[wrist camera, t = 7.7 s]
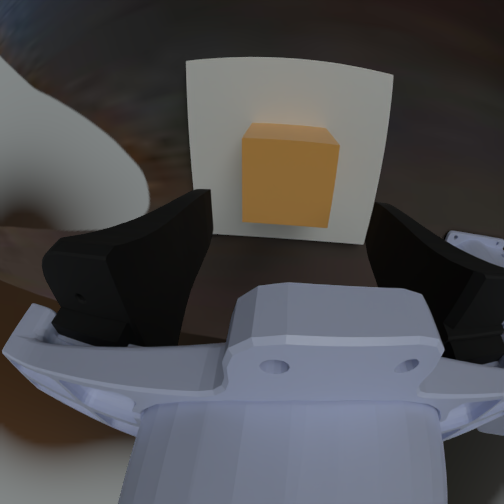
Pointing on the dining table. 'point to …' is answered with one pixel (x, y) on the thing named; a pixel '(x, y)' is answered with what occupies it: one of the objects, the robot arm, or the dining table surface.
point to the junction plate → (293, 113)
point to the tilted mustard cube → (288, 174)
